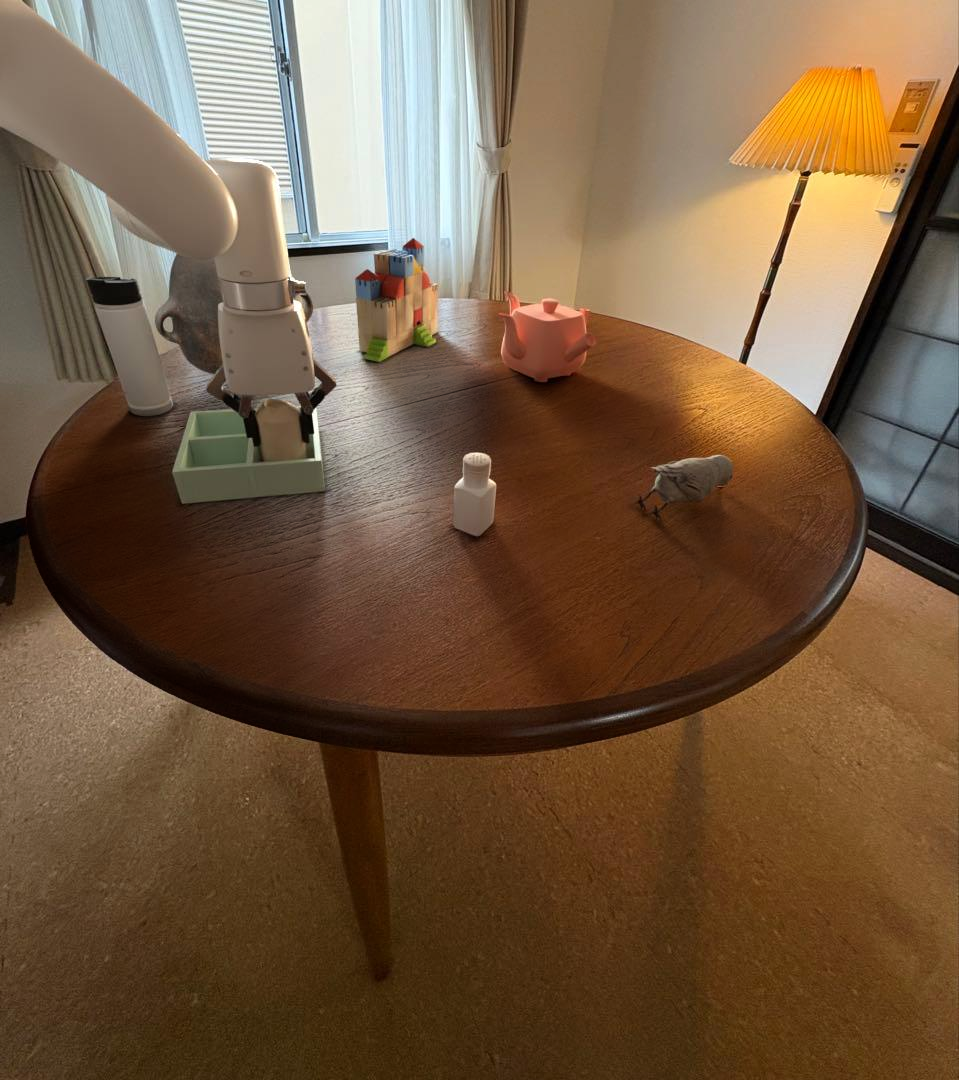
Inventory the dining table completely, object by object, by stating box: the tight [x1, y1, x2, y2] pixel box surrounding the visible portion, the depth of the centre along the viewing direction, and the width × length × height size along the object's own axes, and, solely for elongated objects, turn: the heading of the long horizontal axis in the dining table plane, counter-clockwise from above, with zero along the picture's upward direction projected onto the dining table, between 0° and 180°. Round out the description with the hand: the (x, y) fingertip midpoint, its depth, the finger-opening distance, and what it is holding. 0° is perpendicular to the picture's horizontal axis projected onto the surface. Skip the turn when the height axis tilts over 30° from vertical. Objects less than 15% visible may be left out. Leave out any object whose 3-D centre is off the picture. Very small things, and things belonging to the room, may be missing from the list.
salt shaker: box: [452, 452, 497, 537], centre depth 67 cm, size 4×4×10 cm
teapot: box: [498, 290, 597, 383], centre depth 110 cm, size 18×18×14 cm
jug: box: [154, 253, 314, 375], centre depth 93 cm, size 24×21×30 cm
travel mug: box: [85, 276, 174, 417], centre depth 84 cm, size 6×7×20 cm
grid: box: [171, 405, 326, 505], centre depth 77 cm, size 17×17×5 cm
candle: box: [255, 397, 307, 462], centre depth 73 cm, size 6×6×10 cm
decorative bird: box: [633, 454, 735, 522], centre depth 75 cm, size 5×16×7 cm, turn 122°
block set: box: [354, 237, 439, 363], centre depth 118 cm, size 28×14×19 cm, turn 155°
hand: (282, 439), depth 73 cm, fingers closed on candle, 5 cm apart
